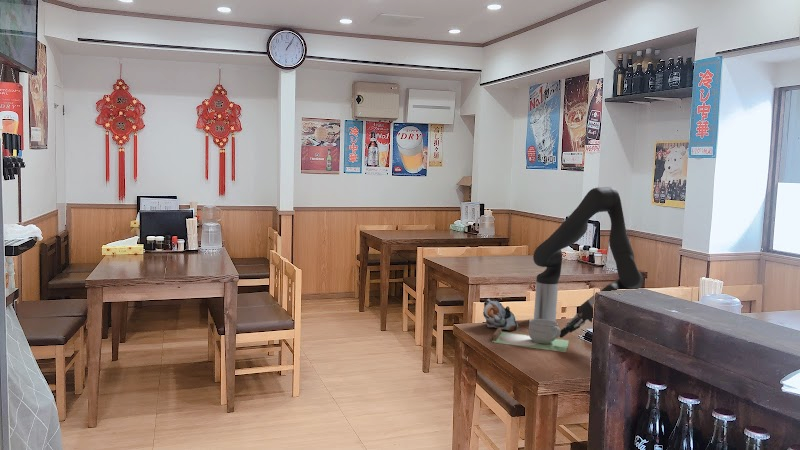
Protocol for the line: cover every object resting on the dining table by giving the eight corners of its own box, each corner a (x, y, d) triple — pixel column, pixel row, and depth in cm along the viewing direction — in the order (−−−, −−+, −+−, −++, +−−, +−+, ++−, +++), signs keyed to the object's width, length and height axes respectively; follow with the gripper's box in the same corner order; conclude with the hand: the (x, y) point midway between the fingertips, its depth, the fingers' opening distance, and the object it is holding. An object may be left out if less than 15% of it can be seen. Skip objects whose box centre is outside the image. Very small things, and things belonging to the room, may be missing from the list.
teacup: (522, 338, 239) (523, 318, 239) (546, 337, 243) (548, 317, 242) (542, 349, 226) (543, 327, 226) (567, 347, 230) (569, 326, 229)
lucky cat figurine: (522, 331, 250) (513, 304, 244) (494, 342, 250) (485, 315, 244) (510, 312, 264) (502, 286, 258) (484, 322, 264) (475, 296, 258)
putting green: (499, 332, 248) (499, 325, 248) (568, 341, 240) (569, 334, 239) (491, 342, 233) (492, 335, 233) (565, 352, 225) (566, 345, 224)
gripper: (589, 295, 235) (553, 323, 240) (588, 302, 222) (550, 332, 227) (602, 311, 233) (567, 339, 238) (602, 319, 221) (565, 348, 226)
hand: (559, 335), depth 233 cm, fingers closed
